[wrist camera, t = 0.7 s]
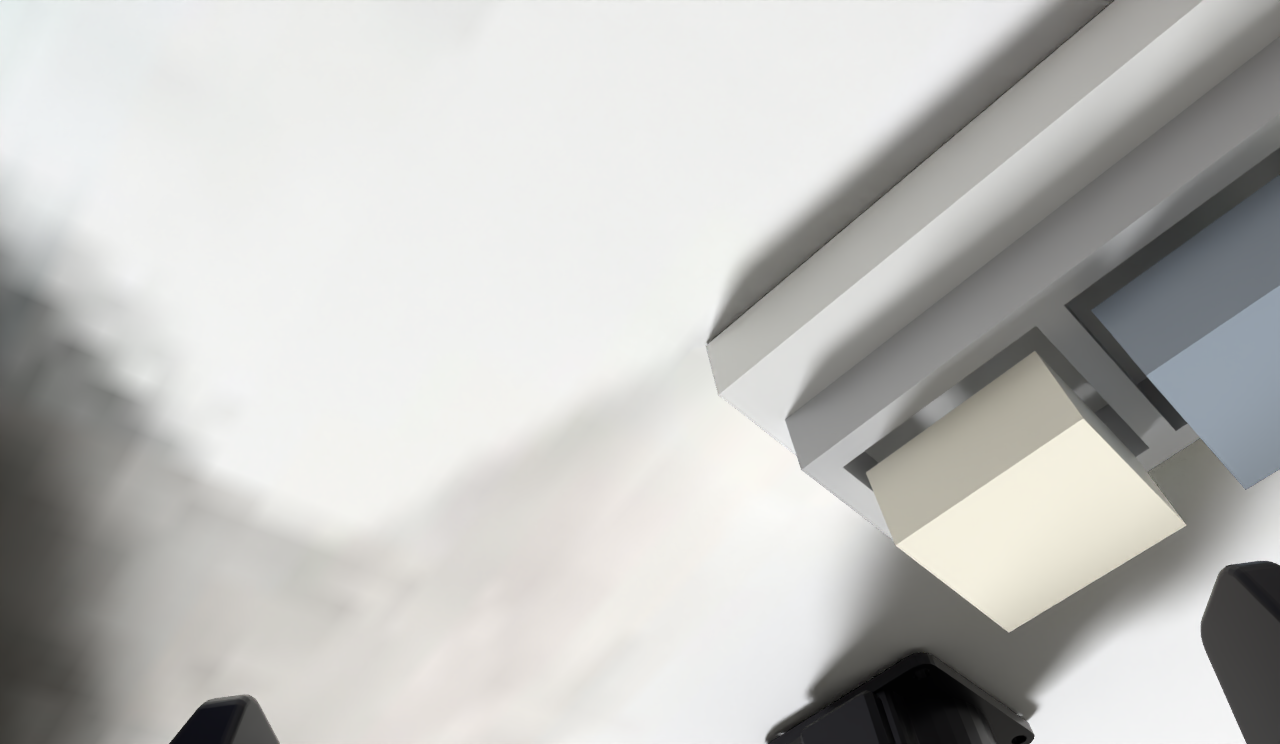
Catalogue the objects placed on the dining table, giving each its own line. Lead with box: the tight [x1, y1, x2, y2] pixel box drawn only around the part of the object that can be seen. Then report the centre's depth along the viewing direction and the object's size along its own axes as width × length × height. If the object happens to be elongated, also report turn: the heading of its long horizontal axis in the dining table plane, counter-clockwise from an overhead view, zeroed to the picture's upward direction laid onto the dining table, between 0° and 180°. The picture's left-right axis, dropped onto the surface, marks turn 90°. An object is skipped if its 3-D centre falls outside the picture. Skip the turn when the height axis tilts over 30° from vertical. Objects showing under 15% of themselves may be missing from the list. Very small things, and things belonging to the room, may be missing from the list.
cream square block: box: [866, 351, 1187, 632], centre depth 19 cm, size 4×4×2 cm
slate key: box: [1091, 174, 1280, 490], centre depth 17 cm, size 4×4×2 cm
